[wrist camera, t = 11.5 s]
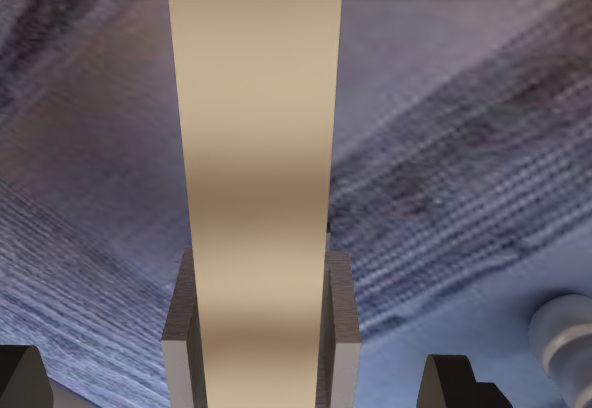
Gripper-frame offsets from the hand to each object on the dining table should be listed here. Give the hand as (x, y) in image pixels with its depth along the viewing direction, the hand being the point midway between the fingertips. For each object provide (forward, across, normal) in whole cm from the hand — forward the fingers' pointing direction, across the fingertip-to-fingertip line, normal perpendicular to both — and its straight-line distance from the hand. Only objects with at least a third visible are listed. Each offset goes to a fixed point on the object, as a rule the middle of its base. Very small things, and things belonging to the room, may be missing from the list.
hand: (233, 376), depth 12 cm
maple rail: (+13, 0, 0) cm, 13 cm away
